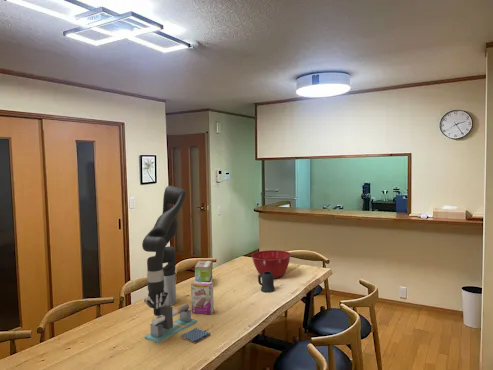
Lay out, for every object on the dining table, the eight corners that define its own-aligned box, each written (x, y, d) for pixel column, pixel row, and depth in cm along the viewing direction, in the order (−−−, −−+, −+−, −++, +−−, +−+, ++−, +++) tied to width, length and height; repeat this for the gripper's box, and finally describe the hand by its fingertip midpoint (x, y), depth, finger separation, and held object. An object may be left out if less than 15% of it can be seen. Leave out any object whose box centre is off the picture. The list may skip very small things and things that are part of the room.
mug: (278, 289, 230) (277, 272, 229) (269, 293, 223) (268, 275, 223) (263, 285, 238) (263, 269, 237) (254, 289, 231) (254, 272, 231)
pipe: (158, 338, 167) (157, 320, 166) (150, 335, 169) (150, 317, 169) (191, 320, 185) (190, 304, 184) (184, 318, 187) (183, 302, 187)
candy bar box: (191, 313, 196) (190, 283, 196) (195, 309, 201) (194, 280, 200) (211, 315, 193) (209, 284, 193) (214, 311, 198) (213, 282, 197)
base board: (157, 343, 164) (157, 340, 164) (144, 338, 169) (144, 336, 169) (196, 322, 185) (196, 319, 185) (184, 318, 190) (184, 316, 190)
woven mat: (195, 330, 177) (195, 326, 177) (211, 336, 170) (211, 332, 170) (179, 339, 169) (179, 334, 168) (195, 345, 162) (194, 341, 162)
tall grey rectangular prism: (168, 329, 170) (167, 309, 170) (158, 326, 174) (157, 306, 174) (173, 327, 173) (172, 307, 172) (162, 324, 177) (162, 304, 176)
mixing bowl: (247, 280, 250) (246, 258, 249) (257, 269, 277) (257, 249, 276) (287, 283, 242) (286, 260, 241) (294, 271, 269) (294, 250, 268)
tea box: (210, 288, 236) (209, 266, 235) (194, 289, 236) (194, 266, 235) (212, 281, 251) (212, 260, 250) (198, 281, 251) (197, 260, 250)
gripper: (161, 274, 176) (162, 308, 177) (138, 281, 165) (140, 318, 166) (171, 276, 172) (173, 312, 173) (149, 284, 161) (151, 322, 162)
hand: (157, 315), depth 170 cm, fingers closed
